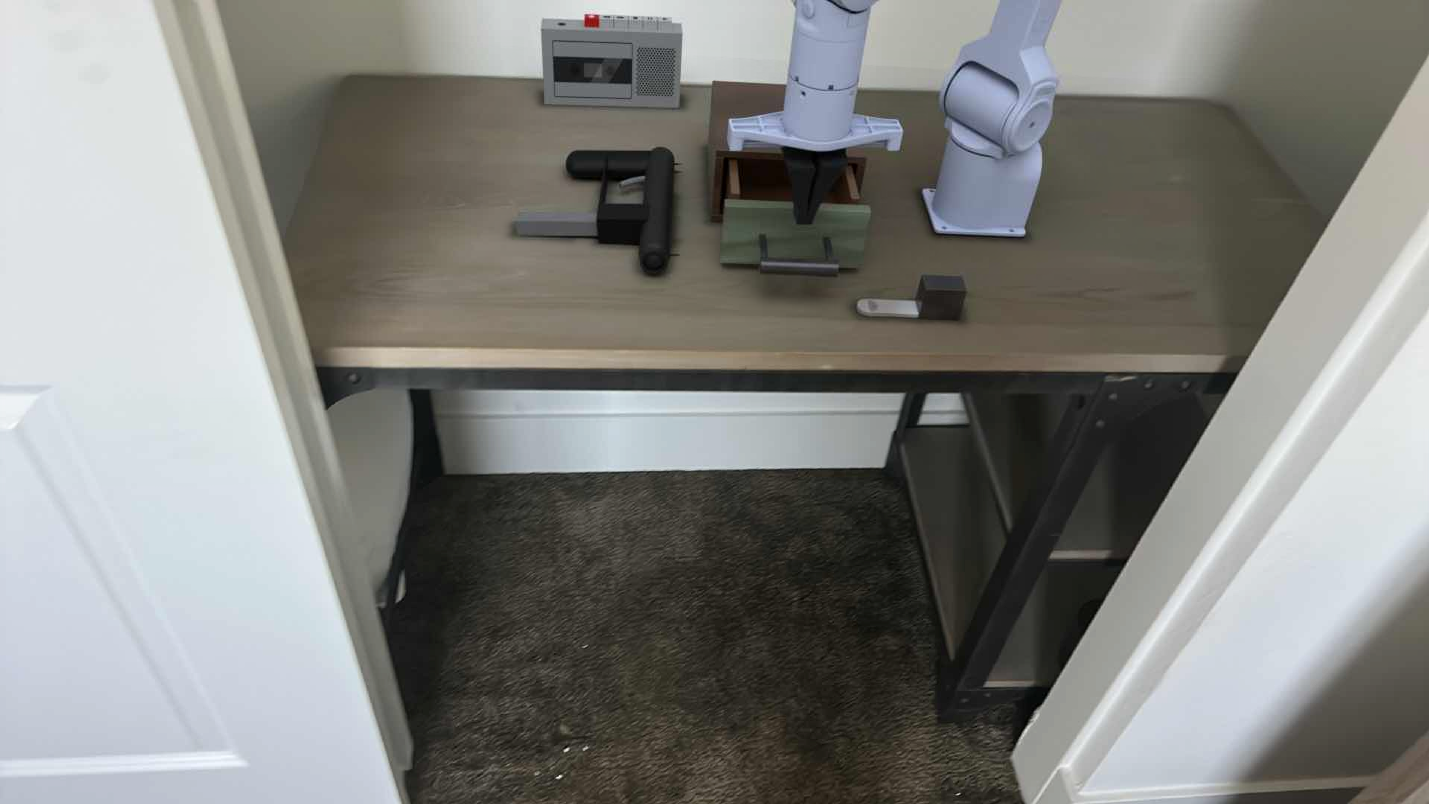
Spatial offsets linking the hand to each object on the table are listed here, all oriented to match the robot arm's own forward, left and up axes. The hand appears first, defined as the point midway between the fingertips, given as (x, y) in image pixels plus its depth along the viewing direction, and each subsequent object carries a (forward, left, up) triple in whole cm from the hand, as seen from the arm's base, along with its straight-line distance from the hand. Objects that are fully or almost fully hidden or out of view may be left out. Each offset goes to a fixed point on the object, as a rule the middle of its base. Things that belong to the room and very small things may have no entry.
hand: (802, 218), depth 92 cm
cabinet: (0, -18, -7) cm, 19 cm away
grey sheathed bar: (-10, +3, -7) cm, 13 cm away
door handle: (+18, -10, -8) cm, 22 cm away
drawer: (0, -6, -6) cm, 9 cm away
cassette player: (+19, -35, -8) cm, 40 cm away
